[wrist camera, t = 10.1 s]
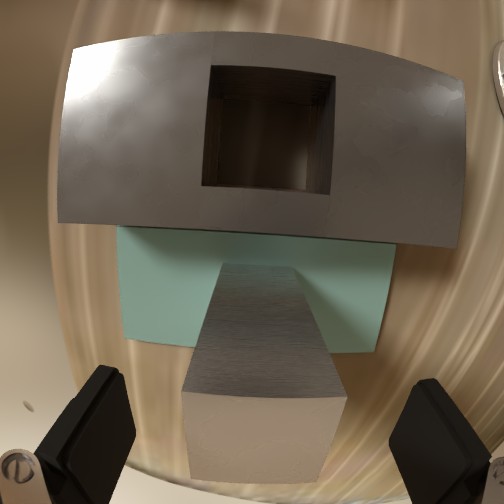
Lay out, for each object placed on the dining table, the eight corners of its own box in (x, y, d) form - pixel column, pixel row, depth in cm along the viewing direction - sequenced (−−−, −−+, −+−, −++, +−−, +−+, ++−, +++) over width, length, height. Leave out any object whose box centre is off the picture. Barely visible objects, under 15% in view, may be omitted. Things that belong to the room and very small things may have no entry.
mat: (391, 242, 19) (396, 244, 18) (370, 346, 21) (373, 352, 20) (121, 224, 19) (116, 226, 18) (128, 333, 21) (124, 338, 20)
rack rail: (413, 101, 17) (463, 81, 11) (405, 228, 19) (456, 248, 13) (118, 78, 16) (74, 49, 11) (108, 209, 18) (57, 223, 13)
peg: (291, 267, 19) (347, 396, 7) (284, 328, 20) (316, 482, 8) (222, 262, 18) (181, 391, 7) (220, 324, 19) (191, 478, 8)
